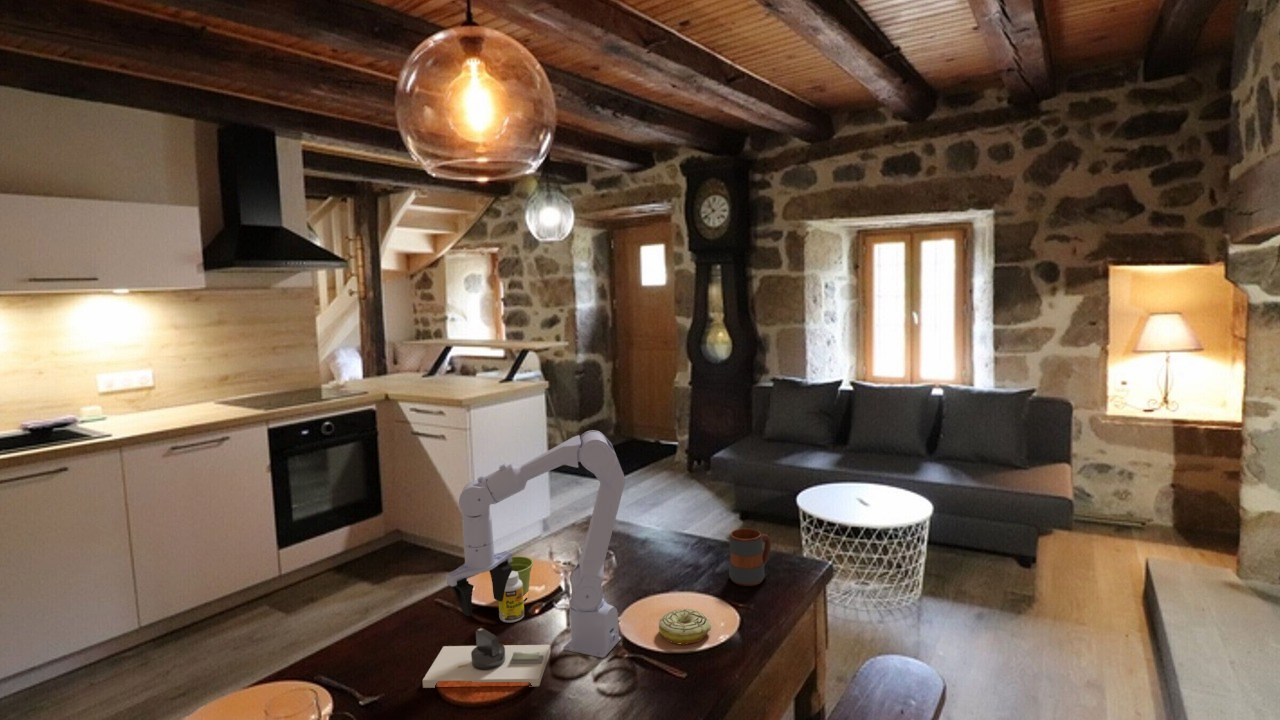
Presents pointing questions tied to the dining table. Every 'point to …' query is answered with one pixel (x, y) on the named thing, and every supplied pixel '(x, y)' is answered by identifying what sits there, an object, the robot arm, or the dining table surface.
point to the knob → (487, 651)
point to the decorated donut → (684, 626)
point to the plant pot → (522, 570)
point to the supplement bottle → (512, 600)
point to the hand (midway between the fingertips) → (483, 607)
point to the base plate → (517, 667)
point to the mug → (748, 556)
